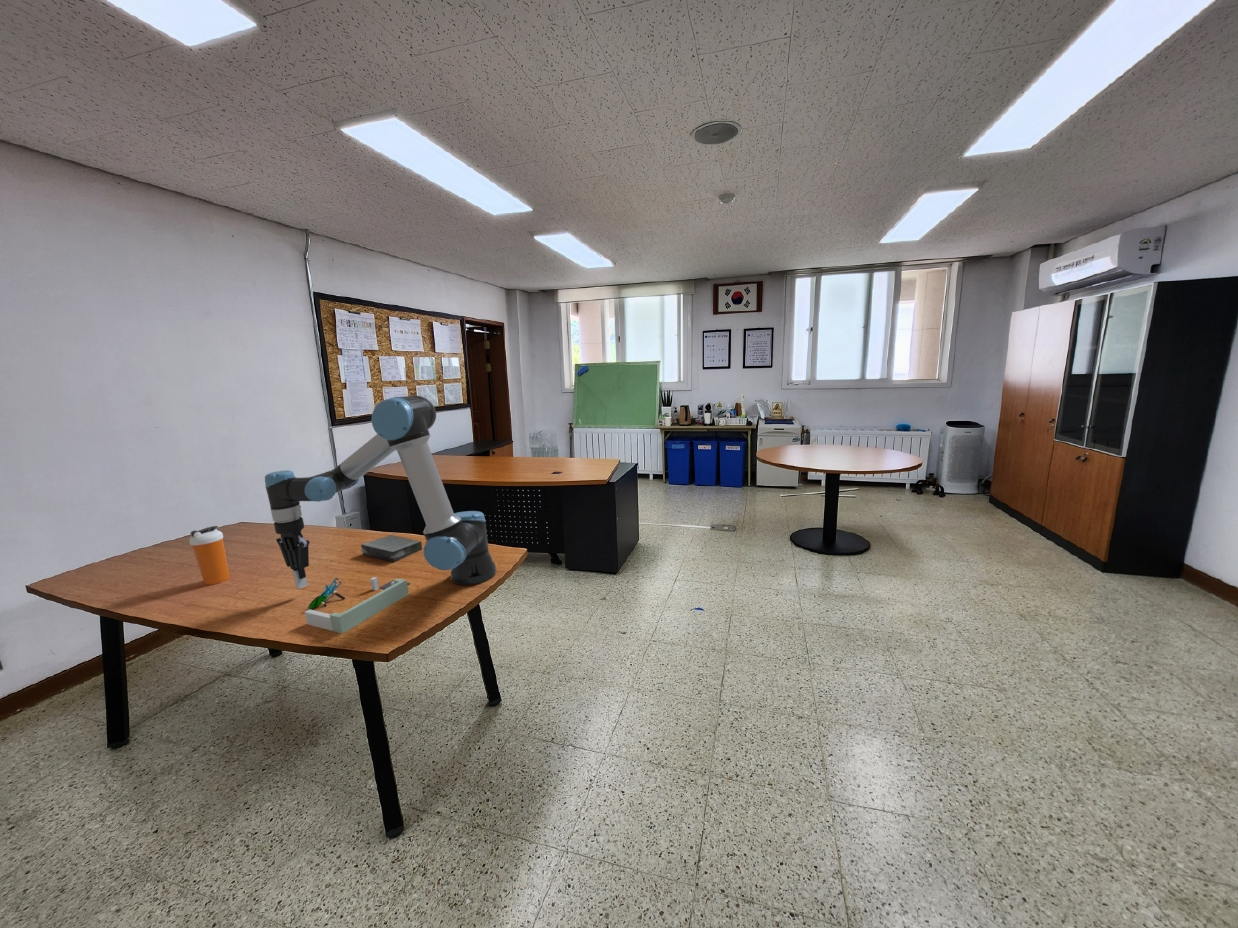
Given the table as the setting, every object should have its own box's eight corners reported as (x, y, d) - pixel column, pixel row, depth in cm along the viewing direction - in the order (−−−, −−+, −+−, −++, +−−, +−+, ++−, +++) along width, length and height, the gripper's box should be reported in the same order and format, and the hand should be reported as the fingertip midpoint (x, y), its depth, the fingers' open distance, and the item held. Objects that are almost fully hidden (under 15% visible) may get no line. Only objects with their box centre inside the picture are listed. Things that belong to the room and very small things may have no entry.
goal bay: (408, 594, 143) (406, 580, 142) (342, 633, 123) (339, 617, 122) (399, 592, 145) (397, 578, 144) (332, 630, 124) (329, 614, 123)
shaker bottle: (238, 577, 164) (225, 526, 159) (208, 588, 156) (194, 534, 152) (225, 573, 167) (213, 523, 163) (195, 584, 159) (181, 532, 155)
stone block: (394, 563, 169) (392, 551, 168) (361, 556, 178) (359, 544, 177) (423, 550, 181) (422, 538, 180) (392, 544, 190) (390, 533, 189)
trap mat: (410, 583, 151) (410, 583, 151) (397, 591, 146) (397, 590, 146) (393, 580, 154) (393, 579, 154) (379, 588, 149) (379, 587, 149)
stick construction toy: (334, 585, 148) (336, 572, 143) (352, 596, 148) (355, 583, 144) (303, 612, 138) (305, 599, 133) (323, 624, 138) (326, 611, 134)
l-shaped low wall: (399, 592, 145) (397, 581, 144) (332, 630, 124) (330, 618, 123) (376, 587, 149) (374, 576, 148) (307, 624, 128) (304, 611, 128)
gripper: (313, 517, 141) (326, 584, 146) (287, 513, 146) (300, 579, 151) (288, 524, 135) (303, 595, 139) (262, 521, 139) (277, 589, 144)
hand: (302, 586), depth 145 cm, fingers closed
